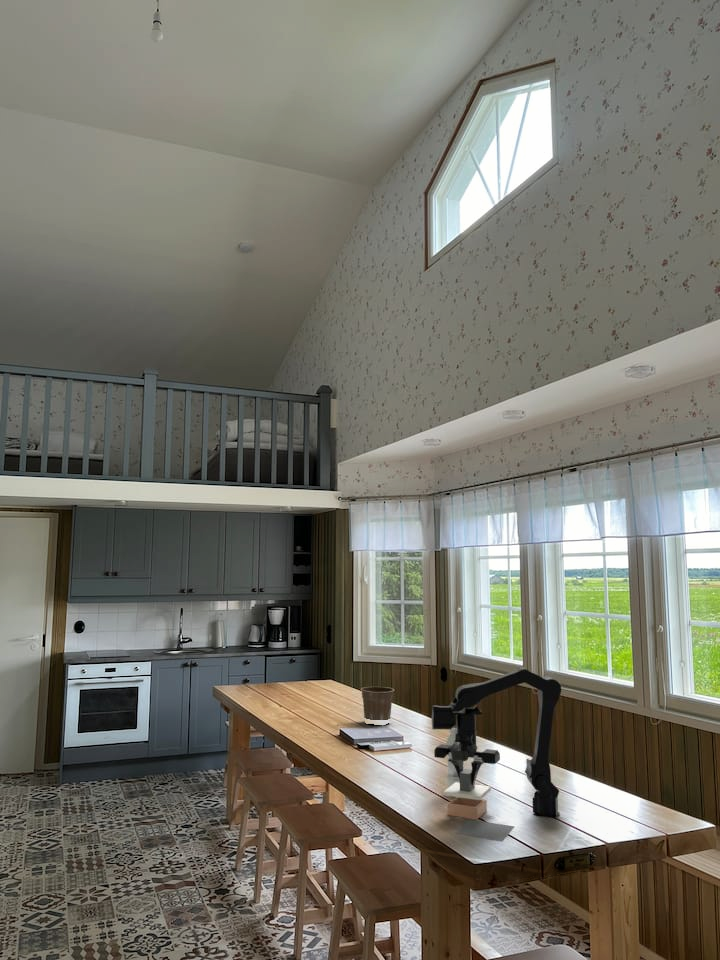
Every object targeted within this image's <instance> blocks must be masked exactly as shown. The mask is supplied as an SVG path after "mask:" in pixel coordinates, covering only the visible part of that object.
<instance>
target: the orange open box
mask: <svg viewBox="0 0 720 960" xmlns="http://www.w3.org/2000/svg"><path fill="white" fill-rule="evenodd" d="M446 806H447V815H448V816H454V817H460V818H466V819H469V820H470V819H471V820H479V818H481V817H482V816H483V815H484V814H485V813H486V812H487V810H488V809H487V806H488V805H487V799H483V798H482V799H481V800H475V799H468V798H461V797H453V799H451V800H449V802H448V803H447V805H446Z"/></svg>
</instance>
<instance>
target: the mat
mask: <svg viewBox="0 0 720 960" xmlns="http://www.w3.org/2000/svg"><path fill="white" fill-rule="evenodd" d="M513 829H515V826H514V825H513V826H512V825H510V824H509V825H508V824H507V825H506V824H503V823H494V822H488V821H483V820H478V819H470V818H469V819H468V820H467V821H466V822H465V823H464V824H463V825H462V826H461V827H460V828H459V829H458V830H457V831H456V832H455V834H456V835H461V836H467V837H473V838H474V837H475V838H479V839H485V840H490V841H496V842H503V841H504V840H505V839H506V838H507V837H508V836H509V834H510V833H511V832H512V831H513ZM455 834H454V835H455Z"/></svg>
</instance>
